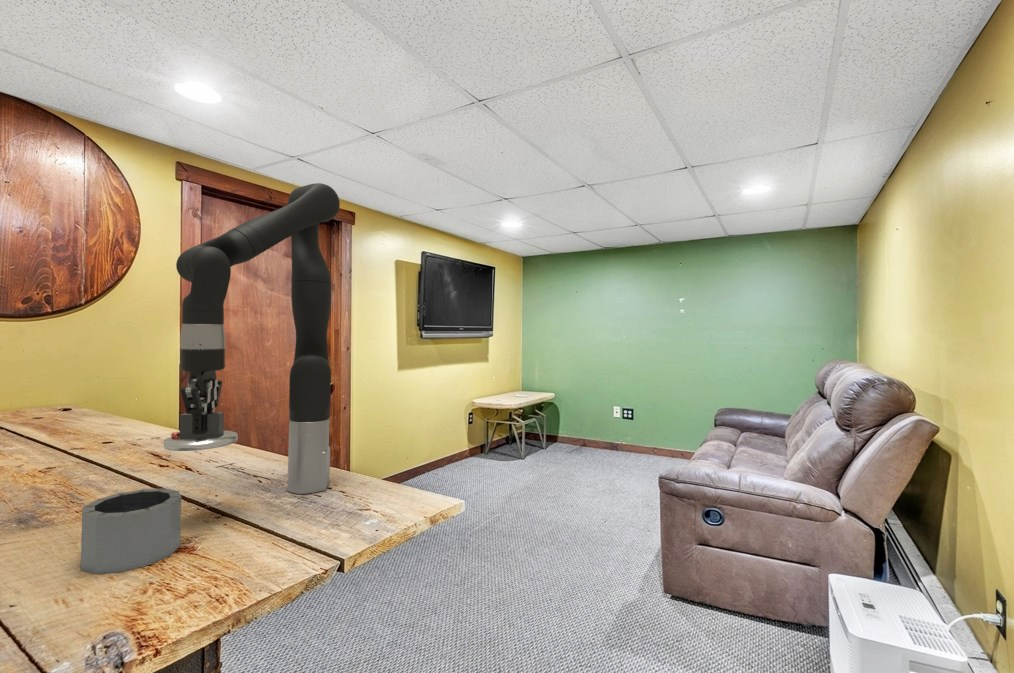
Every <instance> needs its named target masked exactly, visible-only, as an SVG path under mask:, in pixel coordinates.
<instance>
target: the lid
mask: <svg viewBox="0 0 1014 673" xmlns="http://www.w3.org/2000/svg"><path fill="white" fill-rule="evenodd" d="M224 416H225V414H224V411H214V412H207V413H206V433H204V434H193V433H192V420H193V416H191V414H187V413H186V412H184V413H181V414H179V431H177V432H171V433H170V435H171V436H169V437H167V438H165V439H164V440H163V449H164V450H166V451H172V452H194V451H204V450H210V449H211V450H212V449H217V448H221V447H227V446H229V445H232V444H235V443H236V442H237V441H238V440H239V438H238V433H237V432H236V431H234V430H232V431H231V430H224V423H225V422H224V421H225V419H224Z"/></svg>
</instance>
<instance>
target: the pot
mask: <svg viewBox="0 0 1014 673" xmlns="http://www.w3.org/2000/svg"><path fill="white" fill-rule="evenodd" d="M181 518H182V495H181V492H180V490H176V489H171V488H163V487H162V488H143V489H138V490H131V491H125V492H118V493H115V494H111V495H107V496H105V497H101V498H97V499H95V500H94V501H91V502H90V503H88V504H85V505H84V506H82V512H81V541H80V542H81V544H80V545H81V546H80V549H81V550H80V571H84V572H87V573H91V574H94V575H100V574H112V573H116V574H117V573H122V572H127V571H132V570H135V569H140V568H143V567H146V566H149V565H152V564H154V563H157V562H159V561H161V560H164V559H165V558H169V557H170V556H171V555H173V554H174V552H176V551H177V550H178V549H179V548H180V547H181V521H182V519H181Z"/></svg>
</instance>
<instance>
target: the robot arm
mask: <svg viewBox="0 0 1014 673" xmlns="http://www.w3.org/2000/svg"><path fill="white" fill-rule="evenodd" d="M340 202H341V201H340V198H339V196H338V193H337V192H336V190H334V189H333V187H331V186H330V185H328V184H325V183H319V182H318V183H310V184H306V185H302V186H299V187H296V188H295V189H293V190H292V191H291V192H290V194H289V197H288V202H287V205H285V206H282V207H280V208H277V209H276V210H272V211H270V212H268V213H264V214H261V215H259V216H257V217H255V218H252V219H249V220H247V221H245V222H243V223H240V224H238V225H237V226H235V227H233V228H231V229H229V230H228V231H226V232H225V233H223V234H221V235H219V236H216V237H215V238H212V239H210V240H207V241H203V242H202V243H200V244H197V245H194V246H192V247H190V248H188V249H186V250H185V251H183V252H182V253H181V254H179V255H178V258H177V260H176V265H175V267H176V271H177V274H178V275H179V276H180V277H181V278H182V279H184V280H185V281H186V282H190V283H191V285H190V286H191V287H190V292H189V293H188V294H187V295H185V297H184V298H183V301H182V304H181V305H182V307H181V310H182V311H181V329H180V330H181V331H180V338H179V339H180V340H179V342H180V343H179V344H180V347H179V348H180V350H179V351H180V355H179V357H180V358H179V359H180V362H179V363H180V364H179V368H180V370H181V371H183V372H188V373H189V376H188V381H187V386H182V387H181V388H180V393H181V397H182V401H183V406H184V408H185V413H187V414H191V416H193V420H192V433H193V434H204V433H206V413H207V412H215V408H218V406H219V403H220V402H219V401H220V396H221V390H222V387H223V381H222V380H218V379H217V373H216V371H217V372H218V371H223V370H224V369H225V367H226V333H225V327H224V326H225V325H224V323H225V314H224V313H225V308H224V303H225V300H226V298H227V295H228V294H227V293H228V290H229V285H230V281H231V274H232V270H231V268H232V267H234V266H236V265H240V264H243V263H246V262H249V261H251V260H252V259H253V260H254V258H256V257H257V256H259V255H261V254H262V253H264V252H266V251H267V250H269V249H271V248H273V247H274V246H276V245H278V244H279V243H280V242H282V241H285V240H286V239H288V238H289V237H290V241H291V276H290V277H291V278H290V279H291V281H290V282H291V287H290V288H291V289H290V291H291V293H290V296H291V299H290V300H291V310H292V316H293V317H292V318H293V323H294V328H295V349H294V358H293V364H292V366H291V368H290V372H289V388H288V390H289V391H288V393H289V394H288V399H289V400H288V410H289V411H288V412H289V413H288V414H289V419H288V420H289V422H288V423H289V425H288V426H289V427H288V455H287V482H286V483H287V485H286V487H287V491H288V493H291V494H296V495H298V494H299V495H301V494H302V495H304V494H313V493H318V492H325V491H326V490H327V488H328V486H329V485H330V479H331V478H330V477H331V476H330V475H331V474H330V472H331V446H330V445H329V444H330V422H331V421H330V420H331V419H330V417H331V416H330V413H331V393H332V392H331V391H332V369H331V365H330V358H329V350H328V328H329V323H330V322H329V321H330V314H331V308H332V307H331V305H332V278H331V277H332V276H331V272H330V269H329V266H328V264H327V262H326V260H325V258H324V256H323V253H322V251H321V248H320V242H319V227H320V223H326V222H329V221H331V220H332V219H334V218H335V217H336V216H337V215H338V213H339V211H340V207H341V203H340Z"/></svg>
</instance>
